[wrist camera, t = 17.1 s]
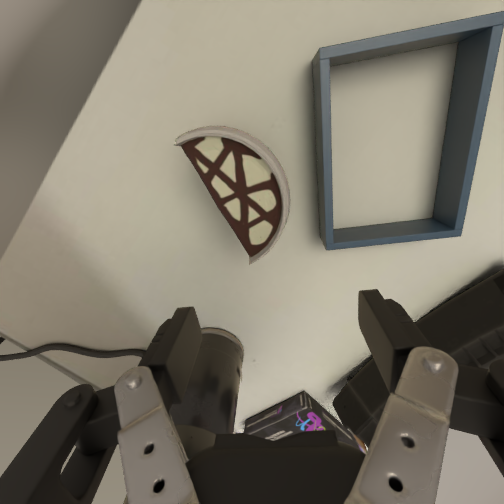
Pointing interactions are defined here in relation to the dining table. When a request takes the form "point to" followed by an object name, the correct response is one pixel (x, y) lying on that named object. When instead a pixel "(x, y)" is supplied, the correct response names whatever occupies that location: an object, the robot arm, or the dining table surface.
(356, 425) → the magazine
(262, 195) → the food container
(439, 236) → the blue rectangular frame
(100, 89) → the dining table surface
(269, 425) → the box
